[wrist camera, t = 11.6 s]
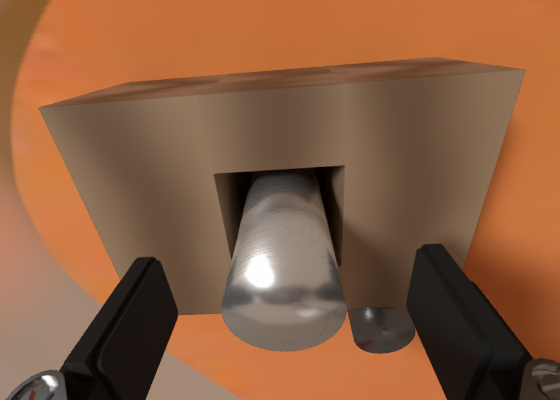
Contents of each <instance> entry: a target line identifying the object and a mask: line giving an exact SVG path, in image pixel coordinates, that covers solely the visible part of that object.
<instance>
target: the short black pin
mask: <svg viewBox="0 0 560 400" xmlns="http://www.w3.org/2000/svg"><path fill="white" fill-rule="evenodd" d="M347 311H348V316H349V320H350V324H351V329H352V333H353V337H354V341H355V343H356V345H357V346H358V347H359V348H361V349H362V350H364V351H367V352H370V353H377V354H382V353H390V352H394V351H397V350H399V349H402V348H403V347H405V346H407V345H408V344H409V343H410V342H411V341H412V340H413V338H414V336H415V327H414V325H413V322H412V320H411V318H410V316H409V313H408V311H407V309H406V307H405V306H400V307H374V308H349V309H347Z"/></svg>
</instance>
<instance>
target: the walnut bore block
mask: <svg viewBox="0 0 560 400" xmlns="http://www.w3.org/2000/svg"><path fill="white" fill-rule="evenodd" d="M525 71H526V70H525V69H517V68H510V67H503V66H495V65H488V64H480V63H473V62H466V61H458V60H451V59H443V58H436V57H435V58H423V59H410V60H398V61H386V62H373V63H361V64H349V65H337V66H324V67H312V68H300V69H288V70H275V71H263V72H251V73H239V74H226V75H214V76H202V77H190V78H177V79H165V80H153V81H140V82H128V83H123V84H120V85H116V86H113V87H109V88H106V89H102V90H99V91H95V92H92V93H88V94H85V95H81V96H78V97H74V98H71V99H67V100H64V101H60V102H57V103H53V104H50V105H46V106H43V107H39V110H40V112H41V114H42V116H43V119H44V121H45V123H46V125H47V127H48V129H49V131H50V133H51V135H52V137H53V140H54V142H55V144H56V146H57V148H58V150H59V152H60V154H61V156H62V158H63V161H64V163H65V165H66V167H67V169H68V171H69V173H70V175H71V177H72V179H73V182H74V184H75V186H76V188H77V190H78V192H79V194H80V196H81V198H82V200H83V203H84V205H85V207H86V209H87V211H88V213H89V215H90V217H91V219H92V221H93V224H94V226H95V228H96V230H97V232H98V234H99V236H100V238H101V240H102V242H103V245H104V247H105V249H106V251H107V253H108V255H109V257H110V259H111V261H112V264H113V266H114V268H115V270H116V272H117V274H118V276H119V278H120V280H121V279H122V278H123V276H124V275H125V273H126V272H127V271H128V269H129V268H130V266H131V265H132V263H133V262H134V261H135V259H136V258H138V257H155V258H156V260H159V261H160V262H161V264H162V267H163V269H164V272H165V275H166V278H167V281H168V283H169V286H170V289H171V292H172V294H173V297H174V300H175V303H176V306H177V308H178V315H197V314H222V312H221V305H222V300H223V296H224V292H225V288H226V283H227V279H228V275H229V271H230V266H231V262H232V258H233V254H234V249H235V245H236V241H237V237H238V233H239V228H240V224H241V220H242V216H243V211H244V207H245V203H246V199H247V191H246V185H245V178H244V172H247V171H263V170H278V169H294V168H309V167H325V199H323V200H322V201H323V205H324V210H325V214H326V219H327V223H328V227H329V232H330V236H331V240H332V245H333V249H334V253H335V258H336V262H337V266H338V271H339V275H340V279H341V284H342V288H343V293H344V297H345V301H346V307H347V309H349V308H374V307H400V306H407V305H406V301H407V296H408V291H409V286H410V280H411V275H412V270H413V265H414V260H415V255H416V251H417V249H419V248H421V246H422V245H423V244H438V243H440V244H442V245H443V246H444V247H445V249H446V250H447V251H448V252H449V254H450V255H451V256H452V258H453V259H454V260H455V262H456V263H457V264H458V266H459V267H460V268H461V270H462V271H463V268H464V264H465V261H466V258H467V255H468V252H469V248H470V245H471V242H472V239H473V236H474V233H475V229H476V226H477V223H478V220H479V217H480V214H481V210H482V207H483V204H484V201H485V198H486V195H487V191H488V188H489V185H490V182H491V179H492V176H493V172H494V169H495V166H496V163H497V160H498V157H499V153H500V150H501V147H502V144H503V141H504V138H505V134H506V131H507V128H508V125H509V122H510V118H511V115H512V112H513V109H514V106H515V103H516V99H517V96H518V93H519V90H520V87H521V84H522V80H523V77H524V74H525Z"/></svg>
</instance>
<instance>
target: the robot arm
mask: <svg viewBox="0 0 560 400" xmlns="http://www.w3.org/2000/svg"><path fill="white" fill-rule="evenodd" d="M406 305H407V310H408V313H409V315H410V317H411V319H412V322H413V324H414V326H415V328H416V331H417V333H418V335H419V337H420V340H421V342H422V344H423V346H424V349H425V351H426V353H427V355H428V358H429V360H430V362H431V364H432V367H433V369H434V371H435V373H436V376H437V378H438V380H439V382H440V385H441V387H442V389H443V391H444V394H445V396H446V398H447V400H560V363H559V362H556V361H553V360H549V359H543V358H539V359H533V357H532V356H531V355H530V353H529V352H528V351H527V350H526V348H525V347H524V346H523V344H522V343H521V342H520V341H519V339H518V338H517V337H516V335H515V334H514V333H513V331H512V330H511V329H510V328H509V326H508V325H507V324H506V322H505V321H504V320H503V319H502V317H501V316H500V315H499V313H498V312H497V311H496V310H495V308H494V307H493V306H492V304H491V303H490V302H489V300H488V299H487V298H486V297H485V295H484V294H483V293H482V291H481V290H480V289H479V288H478V286H477V285H476V284H475V283H474V282H472V281H470V280H469V279H468V277H467V276H466V275H465V274H464V272H463V271H462V270H461V268H460V267H459V266H458V264H457V263H456V262H455V260H454V259H453V258H452V256H451V255H450V254H449V252H448V251H447V250H446V249H445V247H444V246H443V245H442V244H440V243H438V244H423V245H422V246H421V248H419V249H417V251H416V255H415V260H414V265H413V270H412V275H411V280H410V286H409V291H408V296H407V301H406ZM177 318H178V308H177V306H176V303H175V300H174V297H173V294H172V292H171V289H170V286H169V283H168V281H167V278H166V275H165V272H164V269H163V267H162V264H161V262H160V261H159V260H156V258H155V257H138V258H136V259H135V261H134V262H133V263H132V265H131V266H130V268H129V269H128V271H127V272H126V273H125V275H124V276H123V278H122V279H121V281H120V282H119V284H118V285H117V286H116V288H115V289H114V291H113V292H112V294H111V295H110V297H109V298H108V299H107V301H106V302H105V304H104V305H103V307H102V308H101V310H100V311H99V313H98V314H97V315H96V317H95V318H94V320H93V321H92V323H91V324H90V326H89V327H88V329H87V330H86V331H85V333H84V334H83V336H82V337H81V339H80V340H79V341H78V343H77V344H76V346H75V347H74V349H73V350H72V351H71V353H70V354H69V356H68V357H67V359H66V360H65V362H64V364H63V366H62V367H61V369H60V370H59V371H58V370H47V371H43V372H40V373H38V374H36V375H33V376H31V377H30V378H28V379H27V380H25V381H24V382H22V383H21V384H20V385H19V386H18V387H16V388H15V389H14V390H13V391H12V392H11V394H10V395H9V396H8V397H7V398H6V399H5V400H146V397H147V394H148V392H149V390H150V387H151V384H152V382H153V379H154V376H155V374H156V372H157V369H158V367H159V364H160V362H161V359H162V357H163V354H164V351H165V349H166V346H167V344H168V341H169V339H170V336H171V334H172V331H173V329H174V326H175V324H176V321H177Z"/></svg>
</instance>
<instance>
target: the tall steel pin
mask: <svg viewBox="0 0 560 400" xmlns="http://www.w3.org/2000/svg"><path fill="white" fill-rule="evenodd" d="M221 312H222V317H223V319H224V322H225V324H226V325H227V327H228V328H229V329H230V331H231V332H232V333H233V334H234V335H235V336H237V337H238V338H239V339H241V340H243V341H244V342H246V343H248V344H250V345H253V346H255V347H258V348H262V349H266V350H272V351H298V350H303V349H307V348H311V347H314V346H317V345H319V344H321V343H323V342H325V341H326V340H328V339H329V338H331V337H332V336H333V335H334V334H335V333H336V332H338V330H339V329H340V328H341V326H342V324H343V323H344V320H345V317H346V312H347V307H346V301H345V297H344V293H343V288H342V284H341V279H340V275H339V271H338V266H337V262H336V258H335V253H334V249H333V245H332V240H331V236H330V232H329V227H328V223H327V219H326V214H325V210H324V205H323V201H322V197H321V192H320V188H319V184H318V179H317V175H316V171H315V167H309V168H294V169H278V170H263V171H253V173H252V178H251V182H250V186H249V190H248V195H247V199H246V203H245V207H244V211H243V216H242V220H241V224H240V228H239V233H238V237H237V241H236V245H235V249H234V254H233V258H232V262H231V266H230V271H229V275H228V279H227V283H226V288H225V292H224V296H223V300H222V305H221Z"/></svg>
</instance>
